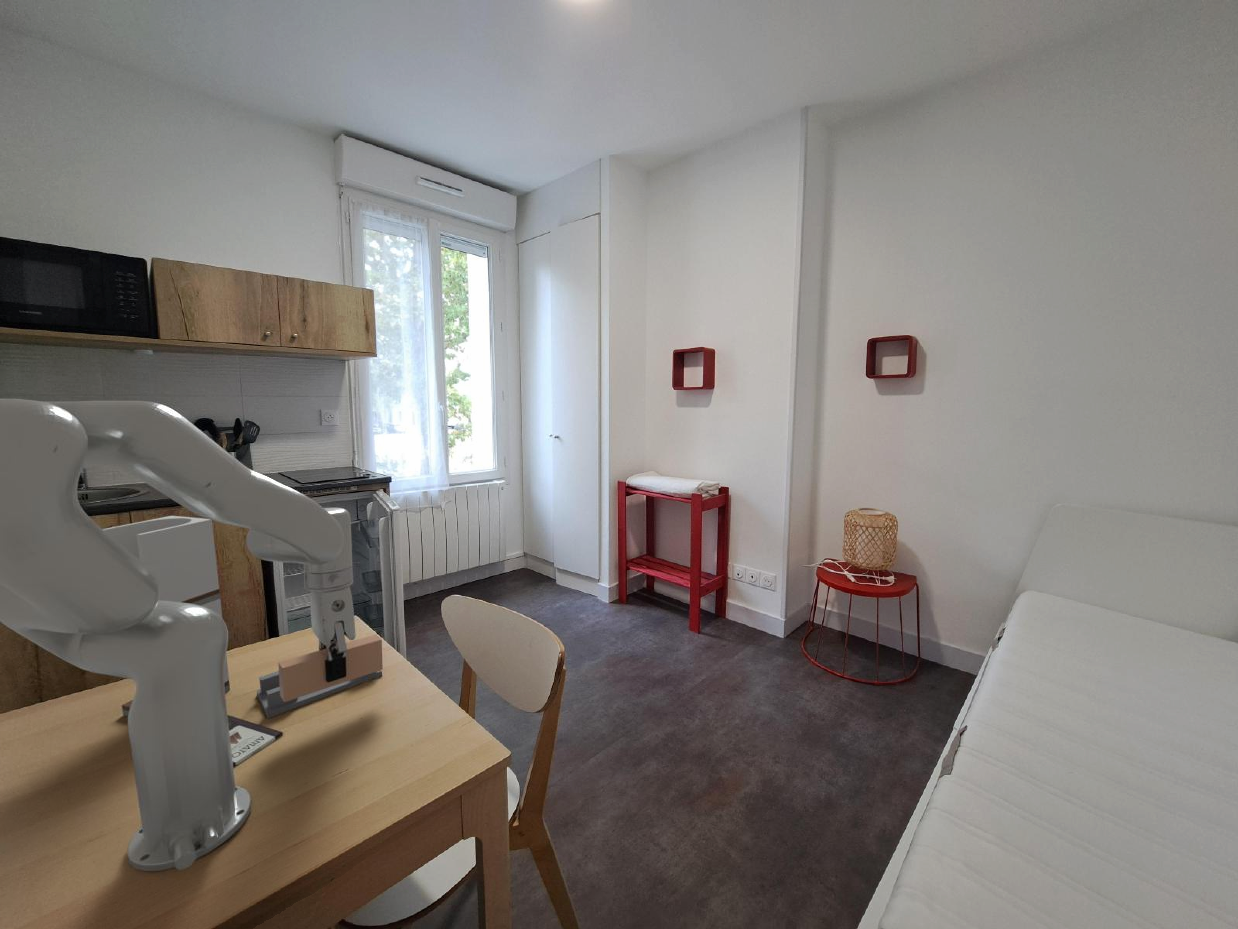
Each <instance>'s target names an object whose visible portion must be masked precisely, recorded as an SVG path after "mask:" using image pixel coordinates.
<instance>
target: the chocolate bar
mask: <svg viewBox="0 0 1238 929" xmlns="http://www.w3.org/2000/svg"><path fill="white" fill-rule="evenodd" d="M227 715H228V724H229V733H230V742H231V752H232V761H233V768H235V767H236V766H238V765H239V764H241V763H243V762H244V761H245V760H247V759H248V758H250V757H251V756H253V755H255V754H256V753H258V752H259V751H261V750H263V749H264V748H265V747H266V746H268V745H270V744H272V742H274V741H276V740H277V739H279V738H281V737H282V736H283V735H284V734H283V731H280V730H278V729H274V728H271V727H269V726H265V725H261V724H258V723H255V722H251V721H248V720H245V719H243V718H239V717H236V716H233V715H229V714H227Z"/></svg>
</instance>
